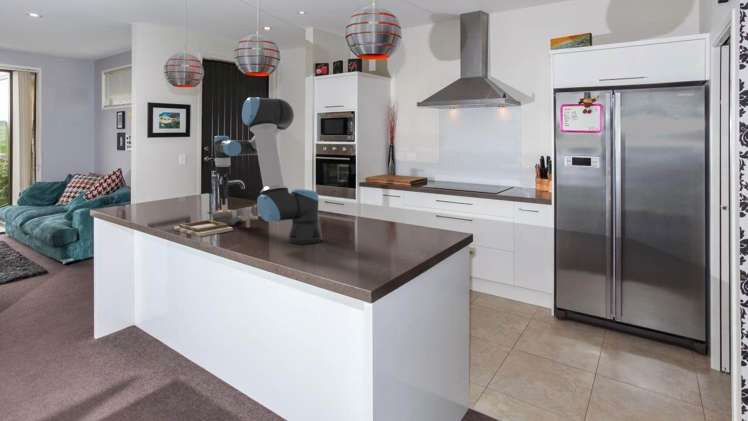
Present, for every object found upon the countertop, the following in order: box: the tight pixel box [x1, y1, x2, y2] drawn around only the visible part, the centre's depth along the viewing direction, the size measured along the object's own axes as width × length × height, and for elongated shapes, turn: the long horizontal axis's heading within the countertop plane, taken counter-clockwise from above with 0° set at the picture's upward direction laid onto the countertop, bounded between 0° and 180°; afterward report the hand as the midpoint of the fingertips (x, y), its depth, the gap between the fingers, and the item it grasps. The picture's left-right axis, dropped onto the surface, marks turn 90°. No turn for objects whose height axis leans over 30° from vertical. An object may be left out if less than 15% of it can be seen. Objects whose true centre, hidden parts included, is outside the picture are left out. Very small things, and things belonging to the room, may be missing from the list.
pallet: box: [173, 219, 234, 238], centre depth 218 cm, size 22×18×3 cm
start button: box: [217, 209, 233, 213], centre depth 236 cm, size 6×6×3 cm
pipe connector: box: [237, 207, 259, 228], centre depth 226 cm, size 10×10×10 cm
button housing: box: [212, 209, 239, 226], centre depth 236 cm, size 11×11×6 cm
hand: (224, 210), depth 235 cm, fingers closed
